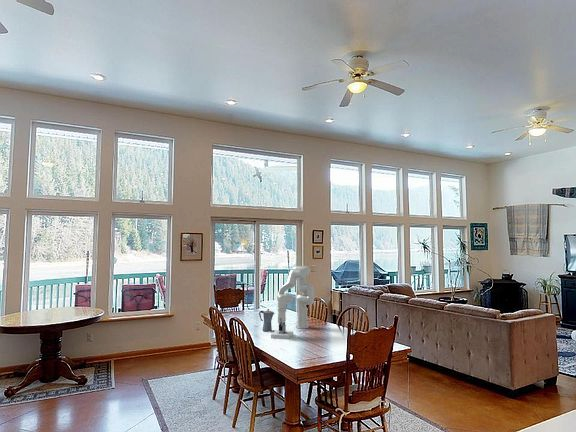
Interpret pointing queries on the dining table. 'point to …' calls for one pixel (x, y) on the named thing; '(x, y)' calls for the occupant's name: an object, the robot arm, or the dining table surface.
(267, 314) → the moka pot
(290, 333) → the housing
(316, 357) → the dining table surface
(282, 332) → the end cover
